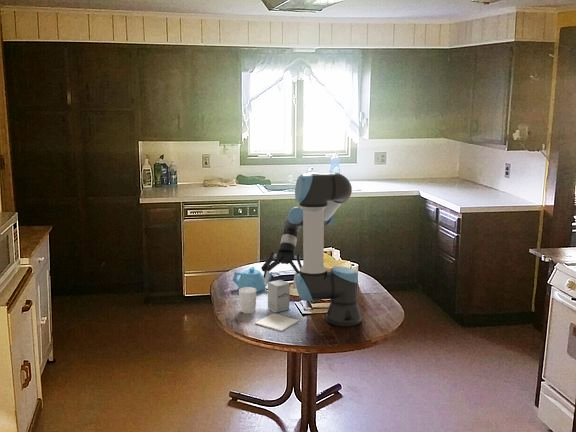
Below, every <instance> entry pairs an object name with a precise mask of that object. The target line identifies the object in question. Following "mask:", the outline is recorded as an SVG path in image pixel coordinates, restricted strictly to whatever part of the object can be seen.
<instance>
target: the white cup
mask: <svg viewBox="0 0 576 432" xmlns="http://www.w3.org/2000/svg"><path fill="white" fill-rule="evenodd" d="M238 299H239V310H240V312H241V313H242V312H243V313H242V314H252V313H255V312H256V305H257V292H256V289H255V288H252V287H244V288H240V289H239V288H238Z"/></svg>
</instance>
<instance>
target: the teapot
mask: <svg viewBox="0 0 576 432" xmlns="http://www.w3.org/2000/svg"><path fill="white" fill-rule="evenodd" d="M272 275H273V273H272V272H269V278H268V282H270V281H271V277H272ZM238 276H239V278H238ZM231 281H232V282H233V283H234V284H235V285H236V286H237V288H238V290H239V289H240V288H244V287H252V288H255V289H256V293H261V292H262V291H264V289H265V288H266V287H267V286H265V284H264V281H265V278H264V274H263V273H262V272H261V271H260V270H258V269H255V267H254V266H251V267H249V268H248V269H245V270H244V271H243V272H241V271H237V270H235V272H234V275H233V277H232V280H231ZM268 282H267V285H268Z"/></svg>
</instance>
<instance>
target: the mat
mask: <svg viewBox="0 0 576 432" xmlns="http://www.w3.org/2000/svg"><path fill="white" fill-rule="evenodd" d="M299 322H300V320H299V319H296V318H295V319H294V318H291V317H287V316H285V315H280V314H275V313H270V314H269V315H267V316H265V317H264V318H261V319H260V320H258V321H256V322H255V323H254V325H256V324H258V325H257V326H260V325H261V326H260V327H263V326H265V327H264V328H267V327H268V328H267V329H271V330H275V331H278V332H282V333H283V332H284V331H285V330H287V329H289V328H291V327H292V326H294V325H296V324H298V323H299Z"/></svg>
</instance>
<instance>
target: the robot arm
mask: <svg viewBox="0 0 576 432" xmlns="http://www.w3.org/2000/svg"><path fill="white" fill-rule="evenodd" d="M352 192H353V187H352V185H351V182H350V180H349V179H348V178H347V177H346V176H345V175H343V174H341V173H339V172H308V173H303V174H300V175H299V176H298V177H297V179H296V183H295V188H294V195H295V196H294V198H295V202H296V203H299V206H293V207H292V208H291V209H289V210H290V211H289V212H288V214H287V216H286V217H285V220H284V224H283V225H284V226H283V229H282V234H281V239H280V244H279V248H278V252H277V253H274V252H273V251H272V252H271V253H270V256H269V257H268V259H267V260H266V261H265V262H264V263H263V264H262V266H261V267H260V268H261V270H262V272H264V273H263V277H264V279H265V281H264V284H265V286H266V287H268V284H267V282H268V278H269V273H270V271H272V270H273V269H274V268H275V267H277V266H278V265H280V264H283V265H285V264H286V265H290V266H291V268H292V269H293V271H295V273H294V277H293V281H292V288H293V289H296V291H297V294H298V297H299V299H300V300H301V301H304V302H305V301H306V302H310V301H311V302H313V301H322V300H323V301H324V300H330V303H329V306H328V309H327V311H326V314H325V320H326V322H327V323H329V324H330V325H333V326H336V327H337V326H338V327H353V326H356V325H359V324H360V323H362V315H361V312H360V308H359V307H360V306H359V305H358V292H359V274H358V272H357V271H356V270H355V269H353V268H350V267H345V266H338V265H337V266H336V265H335V266H332V267H331V269H330V271H328V267H326V266H325V265H324V261H325V260H324V257H325V256H324V254H325V253H324V252H325V251H324V250H325V249H324V247H325V246H324V240H325V239H324V237H325V236H324V234H325V231H324V229H325V228H324V227H325V226H328V225H333V224H334V221H335V213H336V211H337V210H338V209H339V208H340V206H341V205H342V204H343V203H344V204H345V203H346V202H347V201H348V200H349V199H350V198H351V195H352ZM301 227H302V232H303V234H302V235H303V236H302V245H303V247H302V249H303V250H302V255H303V256H302V258H303V262H302V261H301V256H300V254H296V255H295V251H296V246H297V241H298V236H299V232H300V229H301ZM274 259H275V260H274ZM294 259H295V261H297V264H298V268H299V269H298V268H297V266H296V264H295V263H294V262H293V260H294ZM301 262H302V263H303V265H302V263H301Z"/></svg>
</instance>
